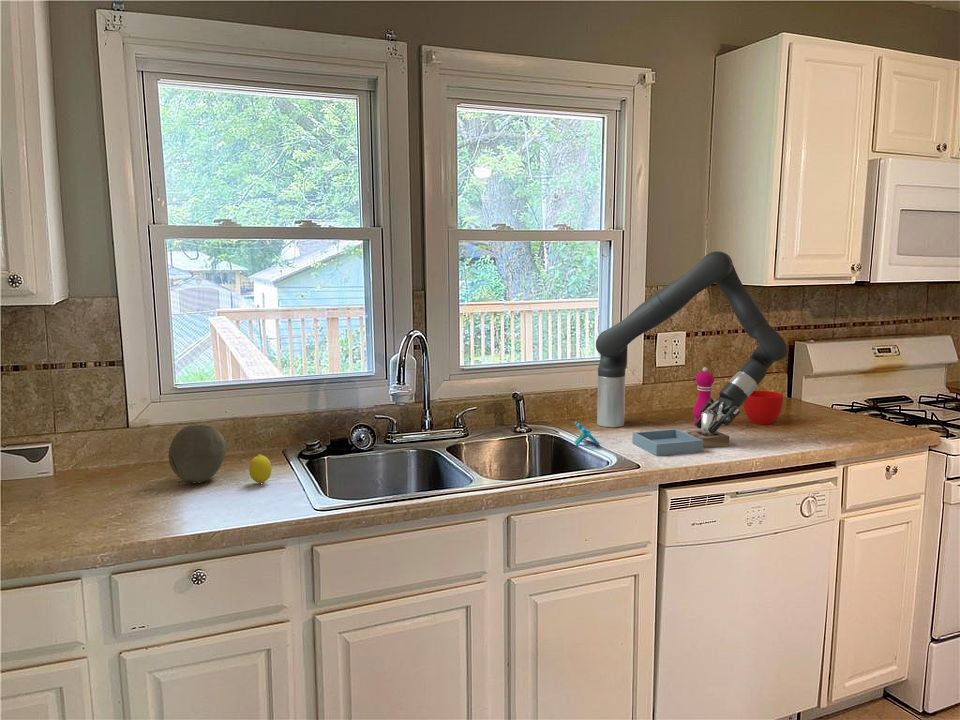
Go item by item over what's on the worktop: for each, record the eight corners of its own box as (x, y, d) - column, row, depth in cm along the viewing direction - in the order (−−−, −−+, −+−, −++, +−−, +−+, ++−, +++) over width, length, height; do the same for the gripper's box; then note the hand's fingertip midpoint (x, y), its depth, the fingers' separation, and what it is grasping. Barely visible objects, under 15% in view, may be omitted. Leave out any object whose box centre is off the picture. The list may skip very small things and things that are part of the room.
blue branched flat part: (603, 444, 214) (579, 421, 214) (590, 458, 214) (566, 435, 214) (597, 439, 225) (574, 417, 225) (584, 453, 225) (561, 431, 225)
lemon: (252, 481, 188) (251, 452, 187) (274, 480, 188) (272, 451, 187) (247, 487, 182) (246, 457, 181) (269, 487, 183) (268, 457, 182)
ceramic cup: (784, 418, 251) (786, 390, 250) (779, 428, 237) (781, 399, 235) (746, 414, 258) (747, 387, 256) (739, 424, 243) (740, 395, 241)
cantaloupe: (223, 486, 183) (220, 430, 181) (165, 491, 181) (161, 434, 178) (231, 471, 197) (227, 418, 195) (176, 475, 194) (172, 421, 192)
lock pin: (698, 442, 221) (699, 412, 219) (709, 441, 222) (710, 411, 220) (705, 445, 217) (706, 414, 215) (717, 444, 218) (717, 413, 217)
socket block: (686, 440, 222) (687, 431, 222) (712, 438, 225) (712, 429, 224) (703, 448, 214) (703, 438, 213) (729, 445, 216) (729, 436, 216)
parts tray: (632, 443, 220) (632, 432, 220) (675, 439, 224) (676, 428, 224) (656, 456, 206) (656, 444, 205) (702, 451, 210) (702, 440, 209)
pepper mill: (691, 426, 241) (693, 368, 239) (693, 421, 248) (695, 365, 245) (713, 427, 239) (715, 369, 236) (715, 423, 245) (717, 366, 243)
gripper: (717, 377, 225) (683, 416, 224) (745, 385, 212) (709, 426, 210) (731, 393, 227) (697, 431, 226) (760, 401, 214) (724, 442, 212)
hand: (703, 429), depth 218 cm, fingers open, 6 cm apart
